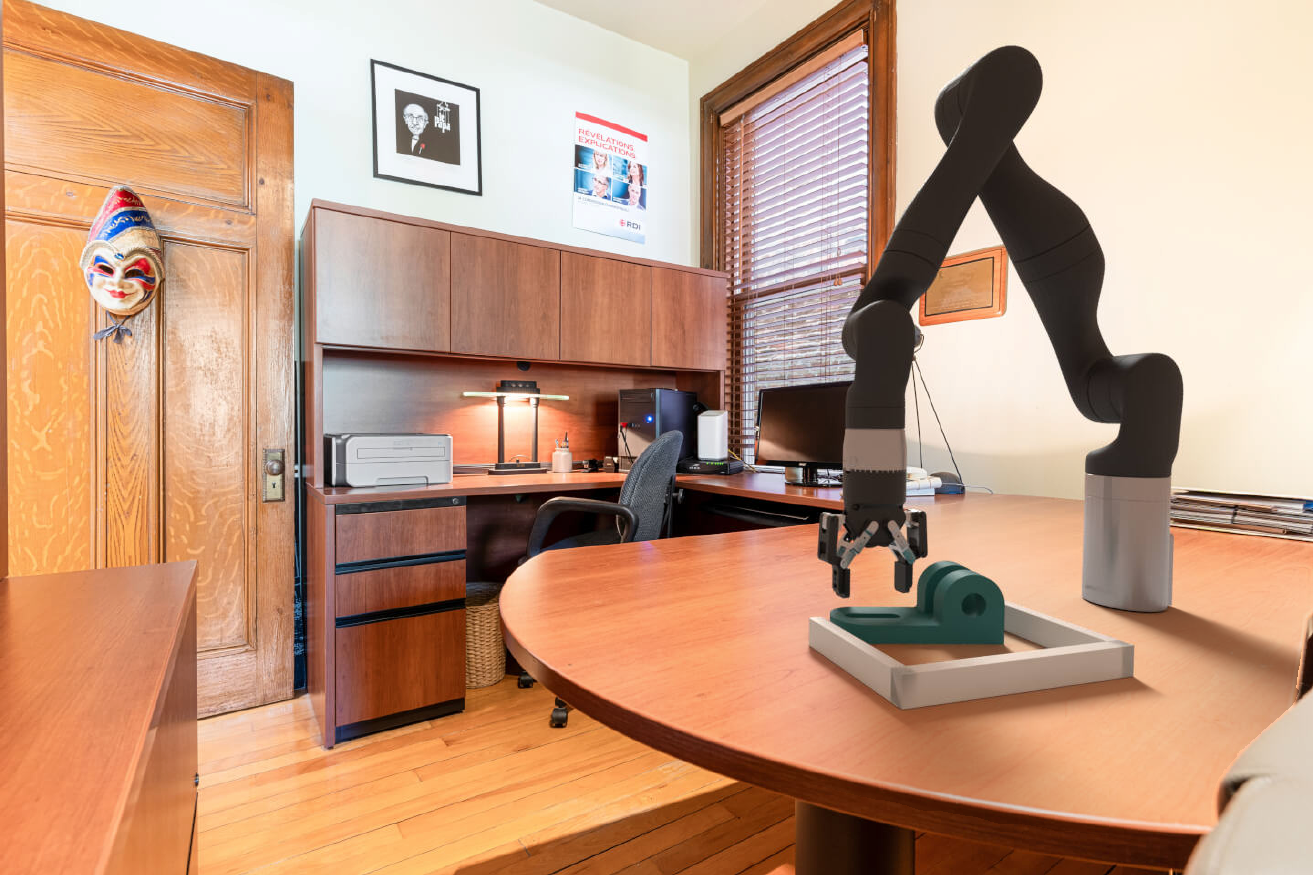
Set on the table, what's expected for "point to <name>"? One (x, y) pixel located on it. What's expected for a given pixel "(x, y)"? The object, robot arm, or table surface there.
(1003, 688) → the white open frame
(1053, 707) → the table surface
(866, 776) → the table surface
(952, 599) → the bracket
